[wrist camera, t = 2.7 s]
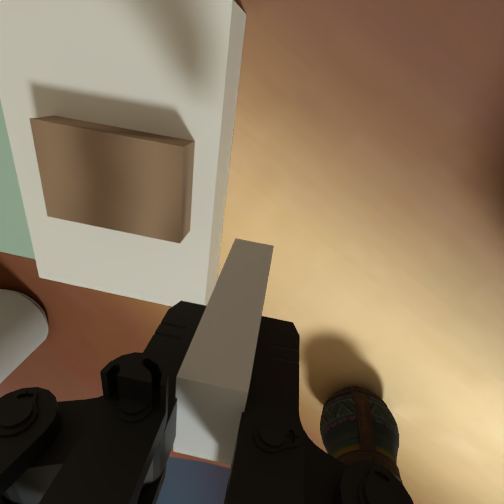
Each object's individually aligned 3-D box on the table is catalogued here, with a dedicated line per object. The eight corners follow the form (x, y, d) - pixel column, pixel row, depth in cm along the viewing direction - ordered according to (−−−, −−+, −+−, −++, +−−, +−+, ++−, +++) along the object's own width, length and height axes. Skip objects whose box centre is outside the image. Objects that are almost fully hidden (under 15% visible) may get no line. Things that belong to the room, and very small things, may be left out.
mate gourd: (318, 375, 32) (324, 484, 23) (397, 379, 31) (435, 496, 22) (317, 421, 35) (322, 532, 26) (389, 426, 34) (419, 545, 25)
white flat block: (246, 14, 19) (232, -2, 15) (216, 285, 29) (203, 313, 25) (28, -20, 20) (-31, -42, 16) (71, 254, 29) (39, 277, 26)
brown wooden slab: (195, 141, 19) (183, 146, 17) (190, 230, 22) (179, 243, 20) (54, 115, 19) (29, 118, 18) (67, 206, 22) (47, 216, 21)
